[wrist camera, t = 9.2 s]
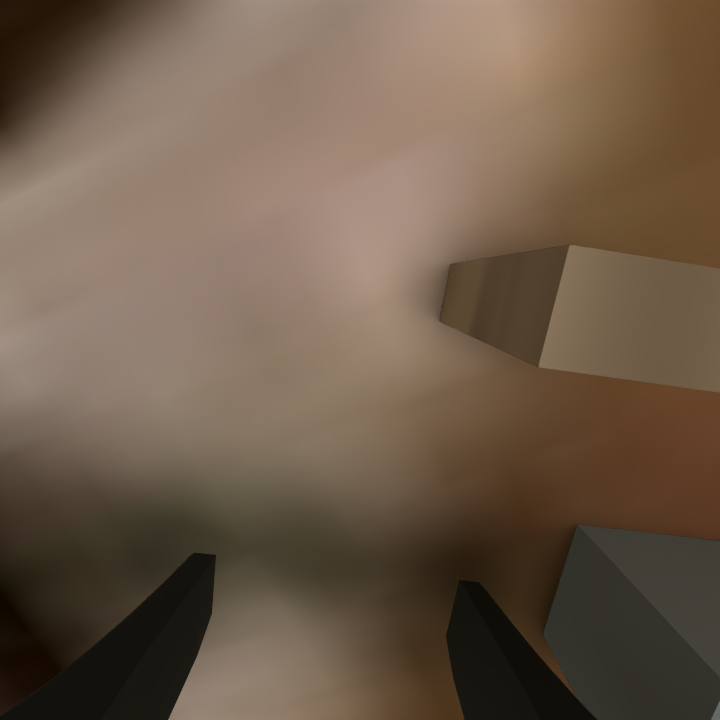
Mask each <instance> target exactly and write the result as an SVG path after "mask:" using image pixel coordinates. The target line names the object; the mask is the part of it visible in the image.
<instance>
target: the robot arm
mask: <svg viewBox="0 0 720 720" xmlns="http://www.w3.org/2000/svg"><path fill="white" fill-rule="evenodd" d="M215 560H216V555H211V554H201V553H193V554H192V555H191V556H190V557H189V558H188V559H187V560H186V561H185V562H184V563H183V564H182V565H181V566H180V567H179V568H178V569H177V570H176V571H175V572H174V573H173V574H172V575H171V576H170V577H169V578H168V579H167V580H166V581H165V582H164V583H163V584H162V585H160V586H159V587H158V588H157V589H156V590H155V591H154V592H153V593H152V594H151V595H150V596H149V597H148V598H147V599H146V600H145V601H144V602H142V603H141V604H140V605H139V606H138V607H137V608H136V609H135V610H134V611H133V612H132V613H131V614H130V615H128V616H127V617H126V618H125V619H124V620H123V621H122V622H121V623H119V624H118V625H117V626H116V627H115V628H114V629H112V630H111V631H110V632H109V633H108V634H107V635H105V636H104V637H103V638H102V639H101V640H100V641H98V642H97V643H96V644H95V645H94V646H93V647H92V648H90V649H89V650H88V651H87V652H85V653H84V654H83V655H82V656H81V657H79V658H78V659H77V660H76V661H74V662H73V663H72V664H71V665H69V666H68V667H67V668H66V669H64V670H63V671H62V672H60V673H59V674H58V675H56V676H55V677H54V678H53V679H51V680H50V681H49V682H47V683H46V684H45V685H43V686H42V687H41V688H39V689H38V690H37V691H35V692H34V693H33V694H31V695H30V696H28V697H27V698H26V699H24V700H23V701H21V702H20V703H19V704H17V705H16V706H14V707H13V708H12V709H10V710H9V711H8V712H6V713H5V714H3V715H2V716H1V717H0V720H168V719H169V717H170V714H171V712H172V710H173V708H174V706H175V703H176V701H177V699H178V697H179V695H180V692H181V690H182V688H183V686H184V684H185V681H186V679H187V677H188V675H189V673H190V670H191V668H192V666H193V664H194V661H195V659H196V657H197V654H198V652H199V649H200V646H201V643H202V640H203V638H204V635H205V632H206V629H207V626H208V623H209V620H210V617H211V614H212V602H213V588H214V574H215ZM446 638H447V644H448V650H449V656H450V662H451V667H452V673H453V678H454V682H455V686H456V690H457V693H458V697H459V700H460V704H461V708H462V711H463V715H464V719H465V720H597V719H596V718H595V717H594V716H593V715H592V714H591V713H590V712H589V711H588V710H587V709H586V708H585V706H584V705H583V704H582V703H581V702H580V701H579V700H578V699H577V698H576V697H575V696H574V695H573V694H572V693H571V691H570V690H569V689H568V688H567V687H566V686H565V685H564V684H563V683H562V682H561V680H560V679H559V678H558V677H557V676H556V675H555V674H554V673H553V672H552V670H551V669H550V668H549V667H548V666H547V665H546V664H545V662H544V661H543V660H542V659H541V658H540V657H539V655H538V654H537V653H536V652H535V651H534V649H533V648H532V647H531V646H530V645H529V643H528V642H527V641H526V640H525V639H524V637H523V636H522V635H521V634H520V633H519V631H518V630H517V629H516V628H515V626H514V625H513V624H512V623H511V621H510V620H509V619H508V618H507V616H506V615H505V614H504V613H503V611H502V610H501V609H500V608H499V606H498V605H497V604H496V603H495V601H494V600H493V599H492V597H491V596H490V595H489V594H488V592H487V591H486V590H485V589H484V587H483V586H482V585H481V584H480V583H479V582H471V581H461V580H459V585H458V589H457V593H456V597H455V601H454V605H453V610H452V614H451V618H450V622H449V626H448V630H447V634H446Z"/></svg>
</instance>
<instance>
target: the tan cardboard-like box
mask: <svg viewBox="0 0 720 720" xmlns="http://www.w3.org/2000/svg"><path fill="white" fill-rule="evenodd" d="M440 322H442V323H444V324H446V325H448V326H450V327H452V328H455V329H457V330H459V331H461V332H463V333H465V334H468V335H470V336H472V337H474V338H476V339H478V340H481V341H483V342H485V343H487V344H489V345H491V346H494V347H496V348H498V349H500V350H502V351H504V352H507V353H509V354H511V355H513V356H515V357H517V358H520V359H522V360H524V361H526V362H528V363H530V364H533V365H535V366H537V367H541V368H548V369H555V370H562V371H570V372H577V373H584V374H591V375H598V376H605V377H613V378H620V379H627V380H634V381H641V382H648V383H655V384H663V385H670V386H677V387H684V388H691V389H698V390H706V391H713V392H720V269H719V268H712V267H706V266H700V265H694V264H687V263H681V262H675V261H669V260H663V259H656V258H650V257H644V256H638V255H631V254H625V253H619V252H613V251H606V250H600V249H594V248H588V247H582V246H575V245H564V246H558V247H552V248H546V249H540V250H534V251H528V252H522V253H515V254H509V255H503V256H497V257H491V258H485V259H479V260H472V261H466V262H460V263H454V264H451V266H450V271H449V276H448V281H447V287H446V292H445V297H444V302H443V307H442V312H441V318H440Z"/></svg>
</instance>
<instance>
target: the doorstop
mask: <svg viewBox="0 0 720 720" xmlns="http://www.w3.org/2000/svg"><path fill="white" fill-rule="evenodd" d="M543 636H544V638H545V640H546V641H547V643H548V645H549V647H550V649H551V651H552V653H553V654H554V656H555V658H556V660H557V662H558V664H559V665H560V667H561V669H562V671H563V673H564V675H565V677H566V678H567V680H568V682H569V684H570V686H571V688H572V689H573V691H574V693H575V695H576V697H577V699H578V700H579V701H580V702H581V703H582V704H583V705H584V706H585V708H586V709H587V710H588V711H589V712H590V713H591V714H592V715H593V716H594V717H595V718H596V719H597V720H720V541H715V540H707V539H698V538H690V537H681V536H673V535H664V534H656V533H647V532H639V531H630V530H622V529H613V528H605V527H596V526H588V525H579V524H577V527H576V530H575V534H574V537H573V540H572V543H571V546H570V550H569V553H568V556H567V559H566V562H565V565H564V569H563V572H562V575H561V578H560V581H559V585H558V588H557V591H556V594H555V597H554V600H553V604H552V607H551V610H550V613H549V616H548V620H547V623H546V626H545V629H544V632H543Z"/></svg>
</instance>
